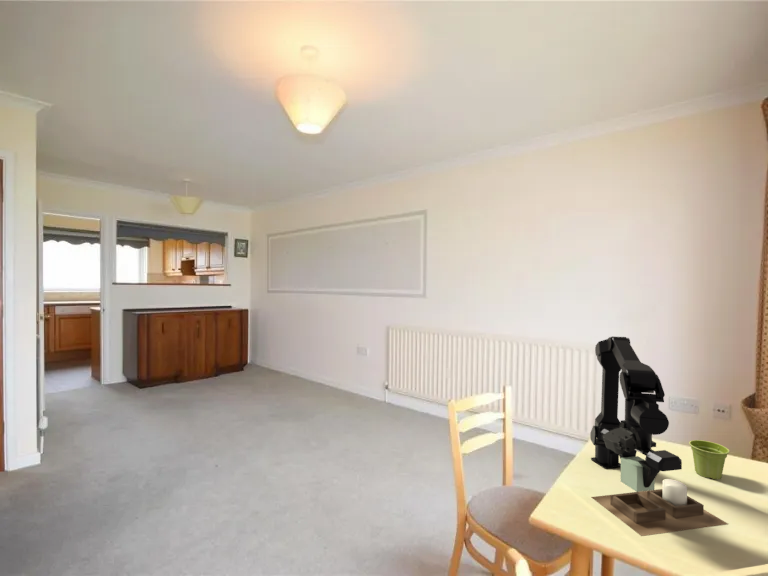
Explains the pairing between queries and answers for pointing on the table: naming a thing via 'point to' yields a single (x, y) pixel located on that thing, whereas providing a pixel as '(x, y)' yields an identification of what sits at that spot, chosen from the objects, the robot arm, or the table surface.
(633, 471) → the sage block
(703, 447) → the plant pot
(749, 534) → the table surface
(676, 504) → the cream cylinder
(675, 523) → the socket board
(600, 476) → the table surface
